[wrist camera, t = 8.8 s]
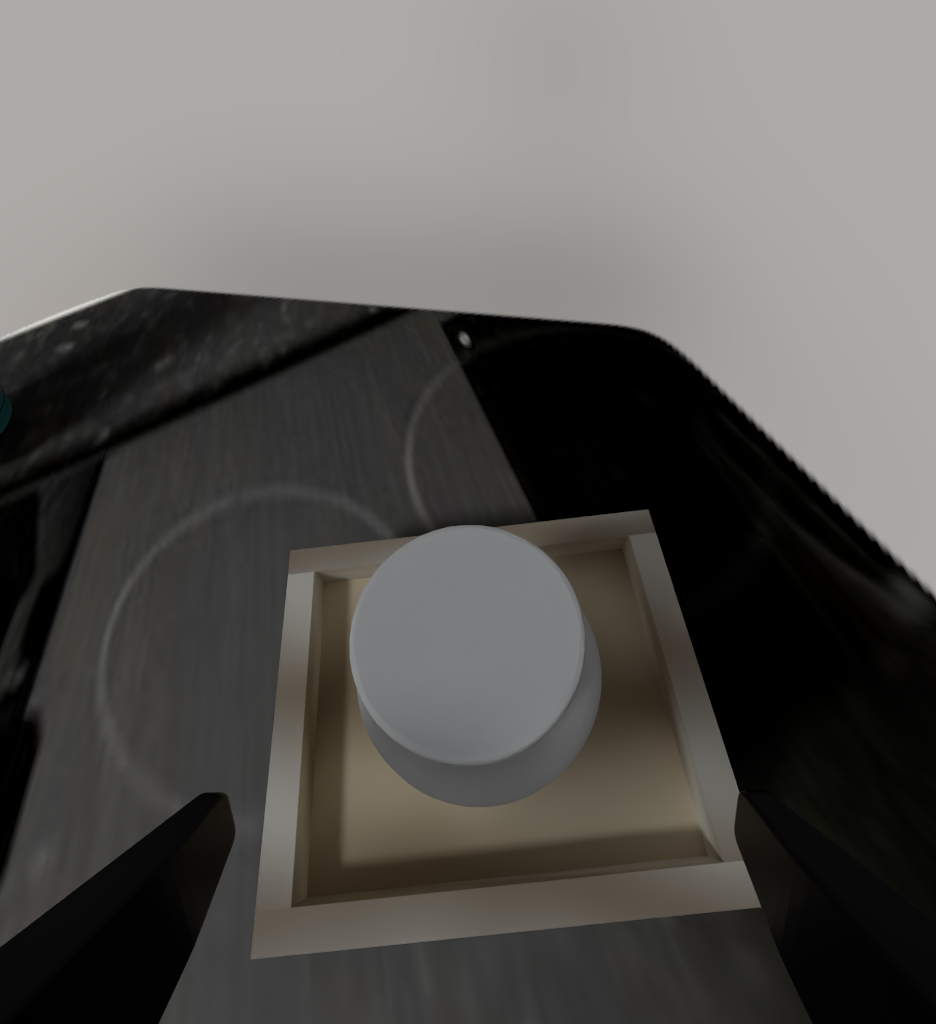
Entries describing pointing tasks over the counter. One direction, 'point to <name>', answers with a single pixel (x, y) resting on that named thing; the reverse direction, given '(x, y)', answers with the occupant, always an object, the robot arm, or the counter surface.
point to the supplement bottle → (474, 666)
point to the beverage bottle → (4, 410)
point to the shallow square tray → (510, 827)
